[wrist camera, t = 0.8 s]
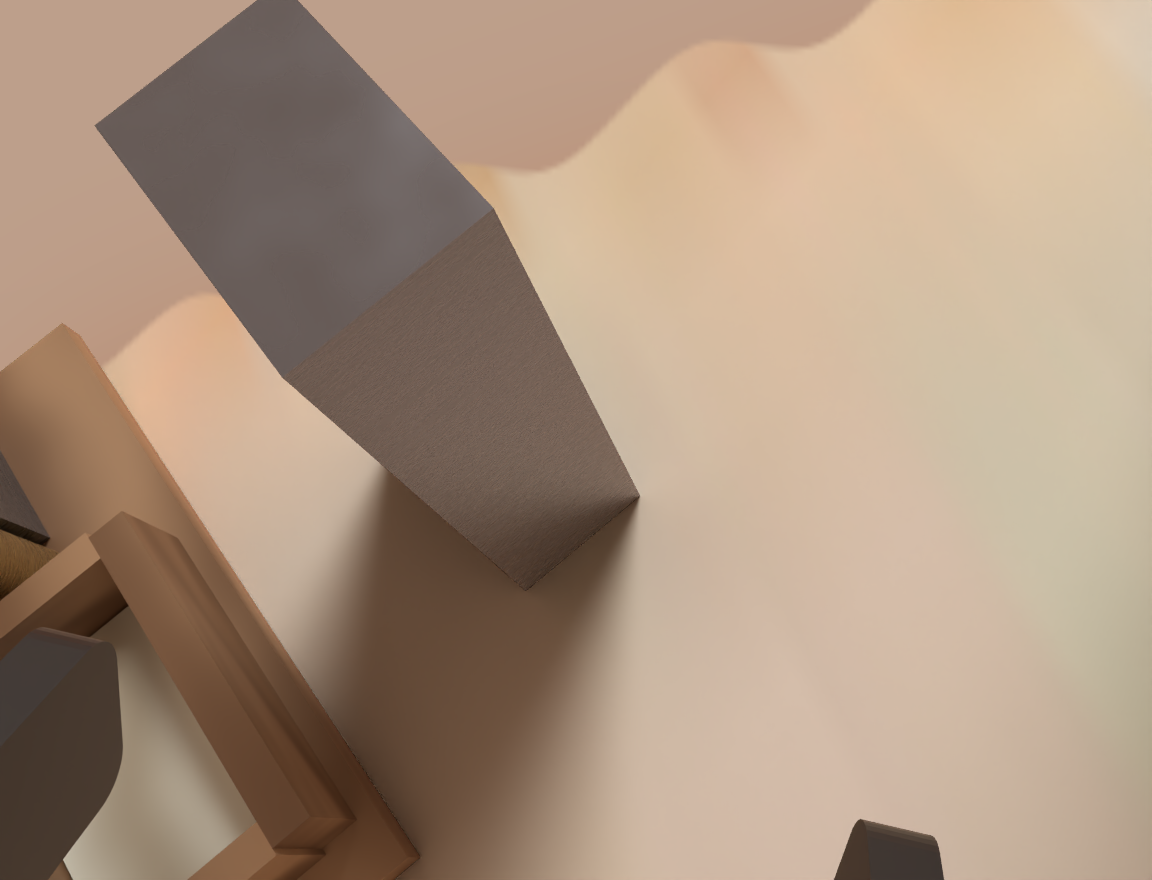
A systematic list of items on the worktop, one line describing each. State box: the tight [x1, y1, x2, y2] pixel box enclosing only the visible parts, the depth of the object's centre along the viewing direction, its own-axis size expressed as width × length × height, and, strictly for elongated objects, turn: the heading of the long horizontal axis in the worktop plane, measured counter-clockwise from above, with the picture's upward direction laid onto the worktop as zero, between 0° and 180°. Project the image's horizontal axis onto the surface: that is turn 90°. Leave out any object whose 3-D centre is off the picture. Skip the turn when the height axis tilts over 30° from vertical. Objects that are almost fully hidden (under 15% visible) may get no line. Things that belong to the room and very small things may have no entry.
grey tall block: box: [95, 0, 640, 591], centre depth 27 cm, size 4×7×16 cm, turn 38°
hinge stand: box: [0, 323, 420, 880], centre depth 33 cm, size 10×22×4 cm, turn 38°
